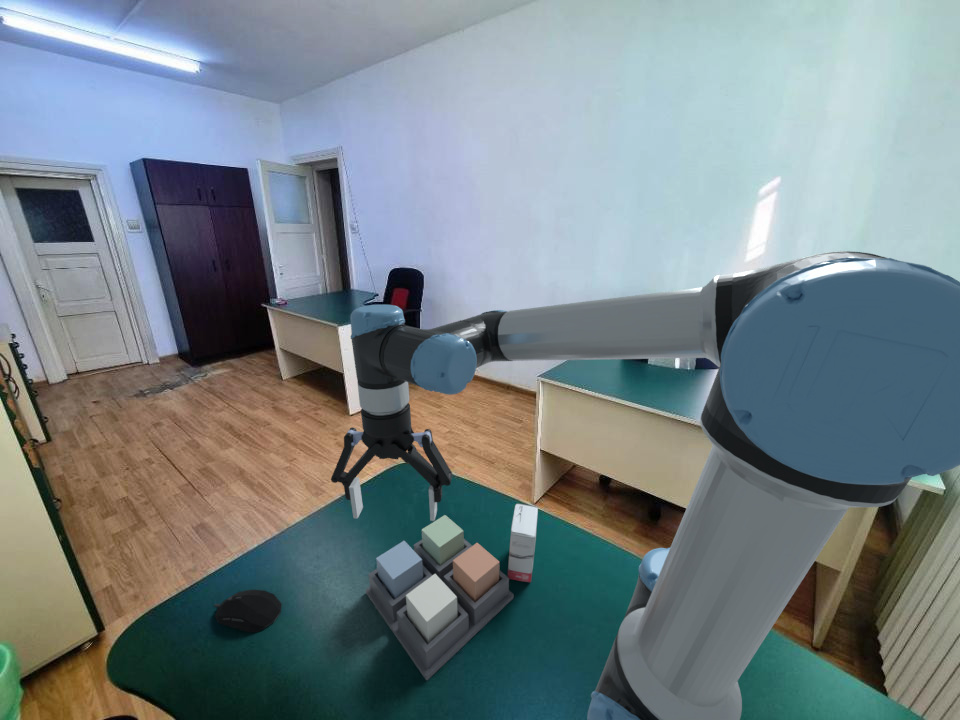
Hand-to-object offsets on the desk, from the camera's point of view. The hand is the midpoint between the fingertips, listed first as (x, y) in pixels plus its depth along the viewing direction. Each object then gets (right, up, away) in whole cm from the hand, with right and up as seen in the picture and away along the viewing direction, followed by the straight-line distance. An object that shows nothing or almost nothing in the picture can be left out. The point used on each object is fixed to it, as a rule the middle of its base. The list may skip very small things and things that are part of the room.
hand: (395, 514), depth 65 cm
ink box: (+24, -16, +12) cm, 31 cm away
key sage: (+7, -12, +11) cm, 18 cm away
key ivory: (+7, -16, -2) cm, 18 cm away
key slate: (0, -14, +4) cm, 15 cm away
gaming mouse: (-29, -20, +3) cm, 35 cm away
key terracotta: (+14, -14, +4) cm, 20 cm away
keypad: (+7, -18, +5) cm, 20 cm away
